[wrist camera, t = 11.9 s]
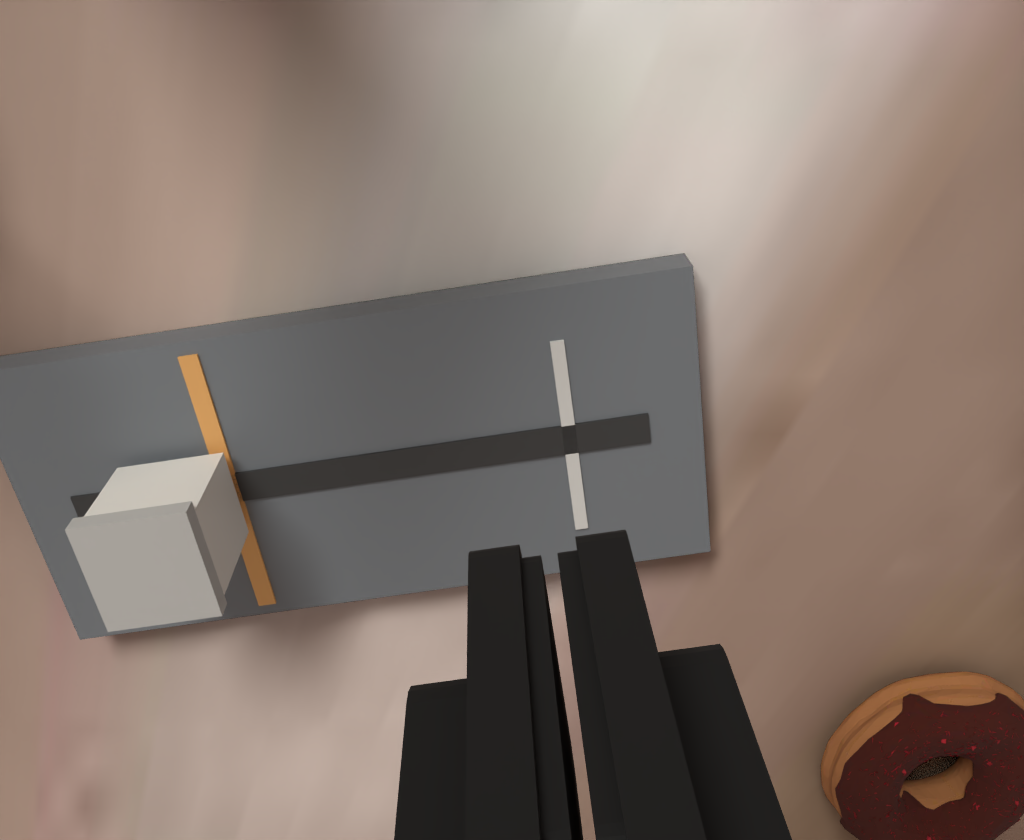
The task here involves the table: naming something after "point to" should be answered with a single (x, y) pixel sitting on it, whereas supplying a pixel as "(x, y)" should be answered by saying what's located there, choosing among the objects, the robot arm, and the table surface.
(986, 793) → the donut
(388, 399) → the fader console
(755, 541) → the table surface
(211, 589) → the fader tab
